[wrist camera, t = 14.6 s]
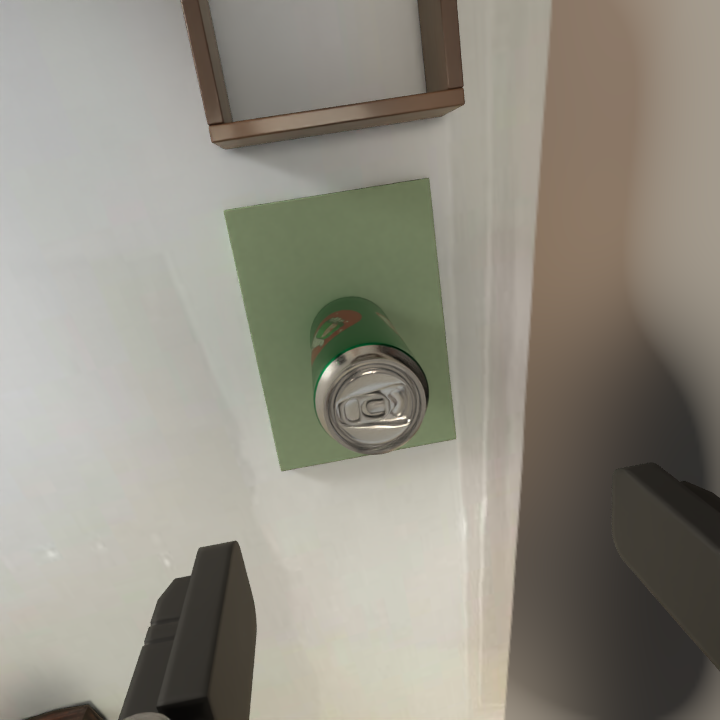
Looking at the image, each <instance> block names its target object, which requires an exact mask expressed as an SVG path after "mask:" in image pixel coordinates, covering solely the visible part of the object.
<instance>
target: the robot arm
mask: <svg viewBox="0 0 720 720" xmlns="http://www.w3.org/2000/svg"><path fill="white" fill-rule="evenodd" d="M612 536H613V540H614V544H615V546H616V548H617V551H618V553H619V555H620V556H621V558H622V559H623V561H624V562H625V563H626V564H627V565H628V566H629V568H630V569H631V570H632V571H633V572H634V573H635V574H636V576H637V577H638V578H639V579H640V580H641V582H642V583H643V584H644V585H645V586H646V587H647V588H648V590H649V591H650V592H651V593H652V594H653V595H654V596H655V598H656V599H657V600H658V601H659V602H660V603H661V604H662V606H663V607H664V608H665V609H666V610H667V611H668V612H669V614H670V615H671V616H672V617H673V618H674V619H675V620H676V622H677V623H678V624H679V625H680V626H681V627H682V629H683V630H684V631H685V632H686V633H687V634H688V635H689V636H690V638H691V639H692V640H693V641H694V642H695V643H696V645H697V646H698V647H699V648H700V649H701V650H702V651H703V653H704V654H705V655H706V656H707V657H708V658H709V659H710V661H711V662H712V663H713V664H714V665H715V666H716V668H717V669H718V670H719V671H720V498H719V497H718V496H716V495H715V494H714V493H712V492H710V491H707V490H705V489H703V488H700V487H698V486H696V485H693V484H691V483H688V482H686V481H682V482H679V481H678V480H677V479H675V478H674V477H673V476H671V475H670V474H669V473H668V472H666V471H665V470H663V469H662V468H661V467H660V466H659V465H657V464H655V463H646V464H640V465H635V466H630V467H624V468H620V469H616V470H615V471H614V473H613V477H612ZM150 623H151V627H149V628H148V631H147V635H146V638H145V641H144V643H145V645H144V646H143V647H142V650H141V653H140V656H139V659H138V662H137V665H136V668H135V671H134V674H133V677H132V680H131V683H130V686H129V689H128V692H127V695H126V698H125V701H124V704H123V707H122V710H121V713H120V716H119V719H118V720H249V714H250V702H251V691H252V679H253V668H254V656H255V645H256V632H257V625H256V612H255V605H254V600H253V596H252V592H251V588H250V584H249V580H248V576H247V573H246V569H245V565H244V561H243V557H242V553H241V549H240V546H239V544H238V542H237V541H232V542H227V543H221V544H216V545H211V546H206V547H200V548H199V550H198V552H197V555H196V559H195V563H194V567H193V570H192V574H191V576H186V577H181V578H176V579H174V580H173V582H172V583H171V584H170V585H169V587H168V588H167V589H166V590H165V592H164V593H163V594H162V595H161V597H160V598H159V599H158V601H157V604H156V607H155V610H154V613H153V616H152V619H151V622H150Z"/></svg>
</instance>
